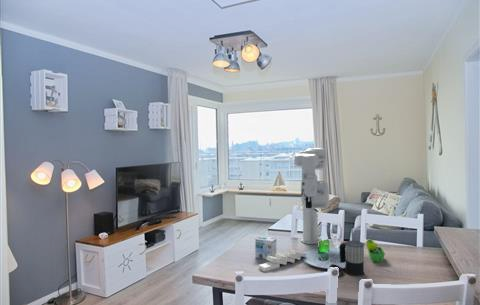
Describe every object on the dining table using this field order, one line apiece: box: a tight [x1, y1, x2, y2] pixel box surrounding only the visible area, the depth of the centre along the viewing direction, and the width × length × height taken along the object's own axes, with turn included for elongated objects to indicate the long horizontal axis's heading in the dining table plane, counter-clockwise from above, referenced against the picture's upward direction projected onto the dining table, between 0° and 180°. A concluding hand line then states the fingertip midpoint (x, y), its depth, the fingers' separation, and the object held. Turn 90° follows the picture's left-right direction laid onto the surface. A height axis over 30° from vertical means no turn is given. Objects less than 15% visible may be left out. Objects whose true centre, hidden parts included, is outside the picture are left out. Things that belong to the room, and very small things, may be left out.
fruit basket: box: [365, 238, 386, 263], centre depth 186 cm, size 11×9×11 cm
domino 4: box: [281, 250, 302, 261], centre depth 184 cm, size 2×5×10 cm
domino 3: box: [275, 252, 296, 264], centre depth 181 cm, size 2×5×10 cm
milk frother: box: [329, 240, 365, 277], centre depth 166 cm, size 14×16×15 cm
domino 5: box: [287, 248, 308, 258], centre depth 189 cm, size 2×5×10 cm
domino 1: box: [258, 261, 281, 272], centre depth 175 cm, size 2×5×10 cm
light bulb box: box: [254, 235, 277, 260], centre depth 191 cm, size 11×7×11 cm, turn 62°
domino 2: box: [265, 256, 288, 266], centre depth 178 cm, size 2×5×10 cm
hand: (308, 207), depth 194 cm, fingers closed
